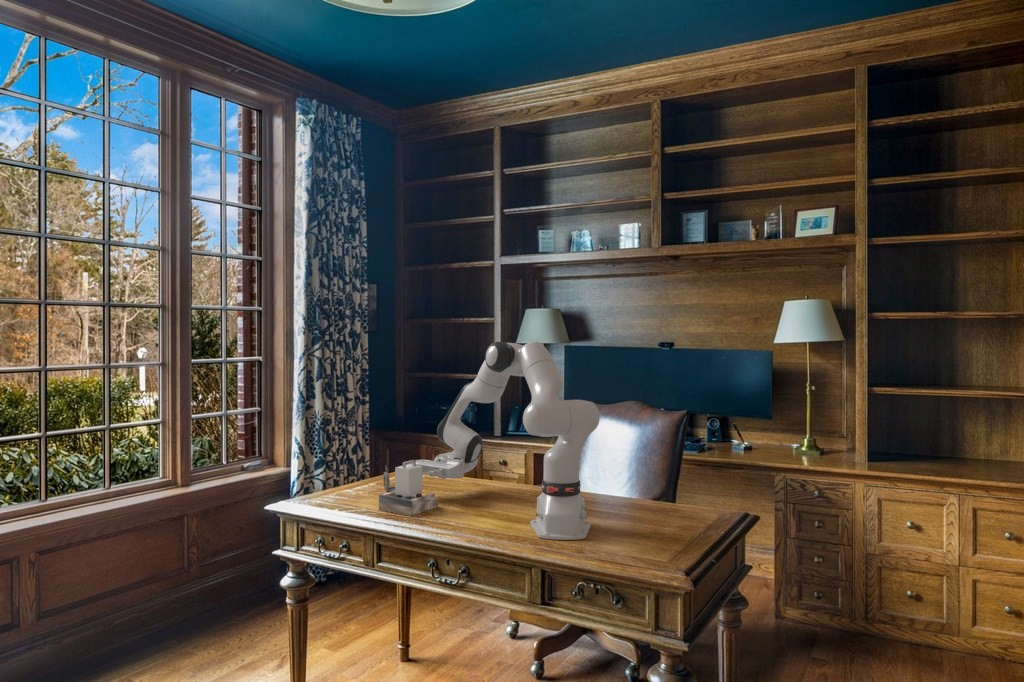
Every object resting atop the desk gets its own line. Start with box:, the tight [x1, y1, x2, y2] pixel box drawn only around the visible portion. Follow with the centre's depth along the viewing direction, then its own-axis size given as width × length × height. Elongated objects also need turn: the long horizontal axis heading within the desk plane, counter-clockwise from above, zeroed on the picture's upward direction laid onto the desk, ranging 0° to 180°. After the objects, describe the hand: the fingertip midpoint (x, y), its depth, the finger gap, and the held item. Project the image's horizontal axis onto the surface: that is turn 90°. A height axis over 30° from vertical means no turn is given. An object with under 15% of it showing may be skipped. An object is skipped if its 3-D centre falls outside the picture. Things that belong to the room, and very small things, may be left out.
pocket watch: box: [382, 465, 395, 493], centre depth 256 cm, size 8×8×10 cm
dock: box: [378, 491, 439, 517], centre depth 231 cm, size 14×14×5 cm
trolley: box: [394, 459, 424, 500], centre depth 231 cm, size 7×6×13 cm
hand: (420, 472), depth 236 cm, fingers open, 8 cm apart
